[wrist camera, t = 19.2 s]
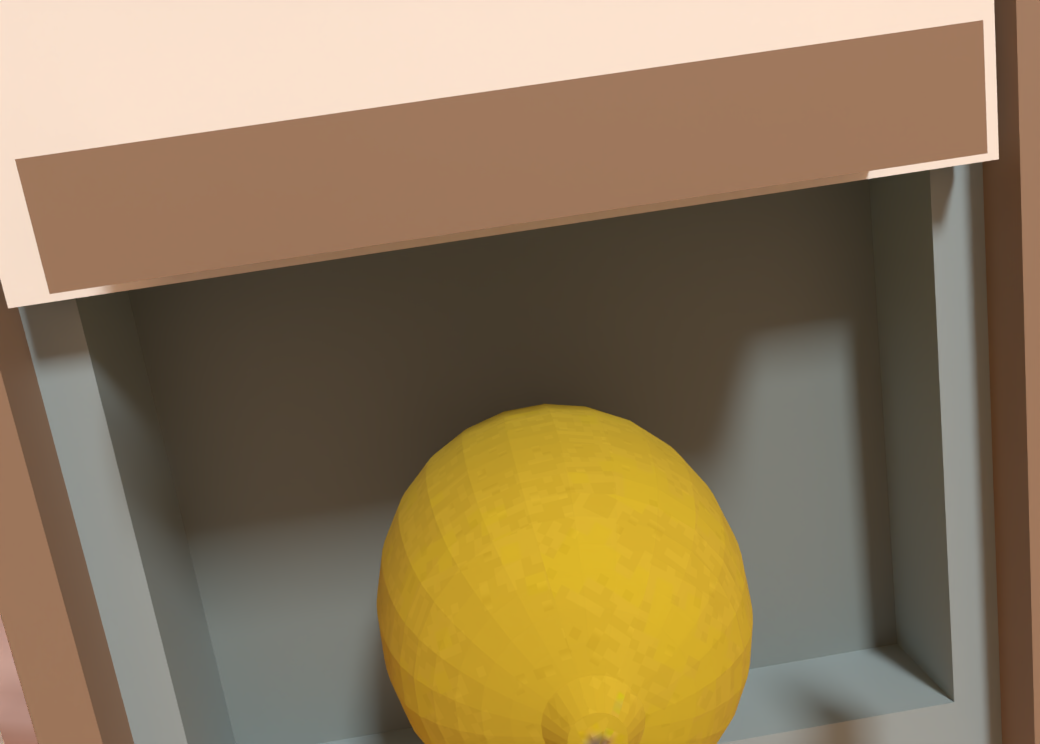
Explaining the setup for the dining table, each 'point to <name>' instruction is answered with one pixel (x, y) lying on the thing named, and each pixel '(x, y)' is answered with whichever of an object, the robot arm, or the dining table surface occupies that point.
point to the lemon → (563, 589)
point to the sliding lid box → (562, 381)
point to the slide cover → (445, 121)
